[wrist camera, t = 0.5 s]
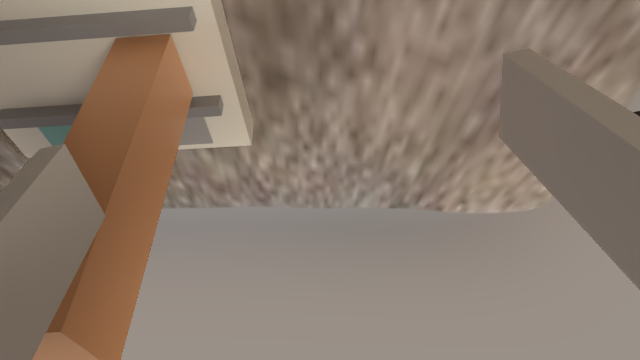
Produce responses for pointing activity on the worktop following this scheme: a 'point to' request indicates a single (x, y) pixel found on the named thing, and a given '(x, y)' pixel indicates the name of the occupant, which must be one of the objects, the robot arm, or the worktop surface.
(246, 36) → the worktop surface
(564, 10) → the worktop surface
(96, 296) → the orange rectangular block
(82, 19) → the switch base
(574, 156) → the robot arm
